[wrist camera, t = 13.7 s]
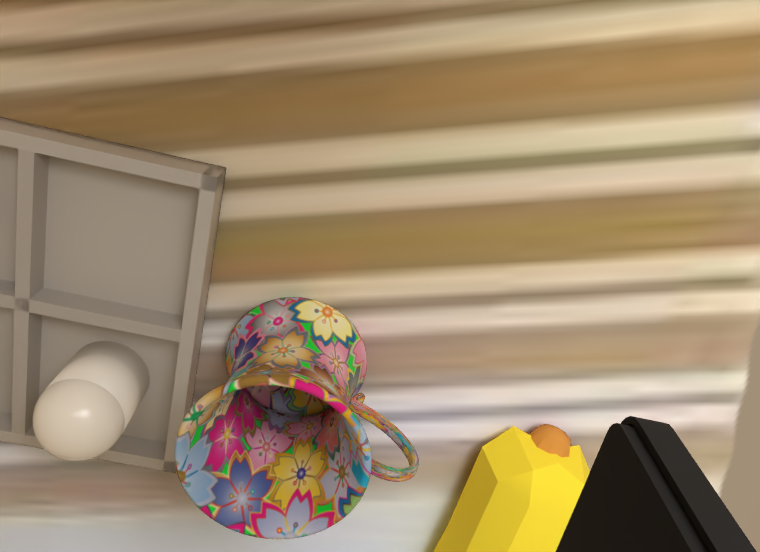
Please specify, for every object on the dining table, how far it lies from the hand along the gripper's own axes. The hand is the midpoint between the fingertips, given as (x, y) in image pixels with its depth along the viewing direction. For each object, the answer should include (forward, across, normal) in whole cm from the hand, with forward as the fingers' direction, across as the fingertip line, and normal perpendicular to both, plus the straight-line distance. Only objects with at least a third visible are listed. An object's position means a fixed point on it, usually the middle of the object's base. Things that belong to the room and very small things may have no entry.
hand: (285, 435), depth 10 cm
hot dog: (+29, -15, +24) cm, 41 cm away
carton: (+28, +16, +14) cm, 35 cm away
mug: (+28, -1, +15) cm, 32 cm away
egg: (+28, +11, +19) cm, 35 cm away
